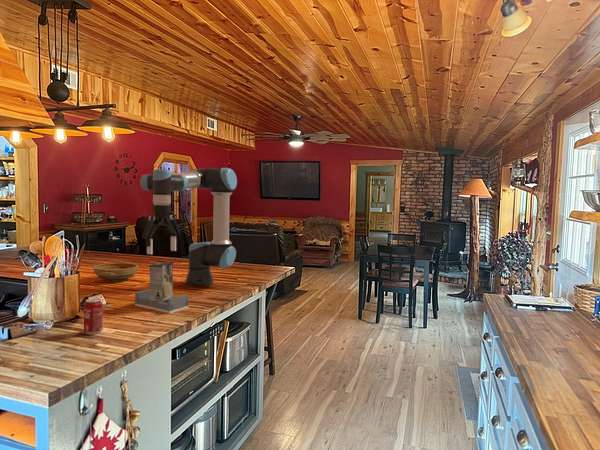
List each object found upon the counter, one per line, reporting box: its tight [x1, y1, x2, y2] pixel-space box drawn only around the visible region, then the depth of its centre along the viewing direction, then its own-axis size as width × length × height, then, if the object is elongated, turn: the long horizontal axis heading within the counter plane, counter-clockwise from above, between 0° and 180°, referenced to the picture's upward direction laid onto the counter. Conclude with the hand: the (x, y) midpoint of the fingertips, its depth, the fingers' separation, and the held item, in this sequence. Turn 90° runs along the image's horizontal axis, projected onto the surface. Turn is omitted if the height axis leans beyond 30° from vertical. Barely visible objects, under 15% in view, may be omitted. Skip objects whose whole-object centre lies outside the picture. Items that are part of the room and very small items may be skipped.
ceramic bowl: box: [92, 262, 140, 283], centre depth 252 cm, size 30×24×8 cm
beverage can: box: [83, 298, 104, 335], centre depth 161 cm, size 6×6×12 cm
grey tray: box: [134, 288, 190, 314], centre depth 197 cm, size 11×22×6 cm, turn 60°
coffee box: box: [149, 261, 174, 302], centre depth 197 cm, size 9×6×16 cm
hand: (161, 252), depth 196 cm, fingers open, 13 cm apart
